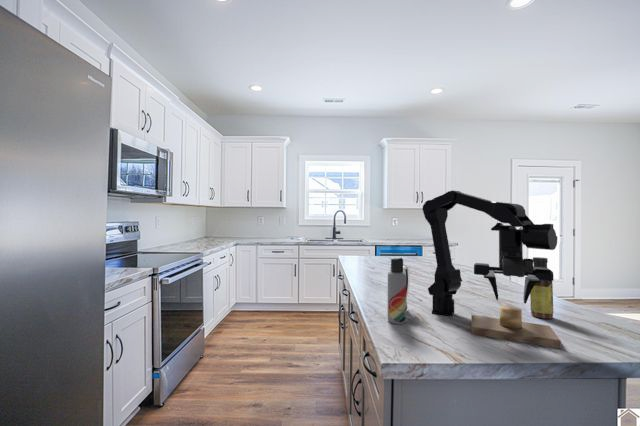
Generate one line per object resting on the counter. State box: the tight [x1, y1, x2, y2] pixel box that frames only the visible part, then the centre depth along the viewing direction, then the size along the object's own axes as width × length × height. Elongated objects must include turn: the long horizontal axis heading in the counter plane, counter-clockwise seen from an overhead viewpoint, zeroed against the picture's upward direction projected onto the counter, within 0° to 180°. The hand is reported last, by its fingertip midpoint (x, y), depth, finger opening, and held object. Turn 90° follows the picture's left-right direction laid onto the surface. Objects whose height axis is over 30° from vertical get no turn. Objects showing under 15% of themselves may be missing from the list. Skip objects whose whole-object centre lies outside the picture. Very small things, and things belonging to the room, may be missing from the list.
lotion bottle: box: [387, 257, 407, 325], centre depth 93 cm, size 6×6×20 cm
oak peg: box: [499, 305, 523, 330], centre depth 84 cm, size 5×5×7 cm
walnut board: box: [470, 314, 562, 349], centre depth 84 cm, size 20×12×2 cm, turn 63°
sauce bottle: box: [529, 256, 554, 320], centre depth 100 cm, size 7×6×20 cm
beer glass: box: [389, 266, 411, 312], centre depth 106 cm, size 7×7×15 cm
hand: (510, 301), depth 84 cm, fingers open, 6 cm apart
